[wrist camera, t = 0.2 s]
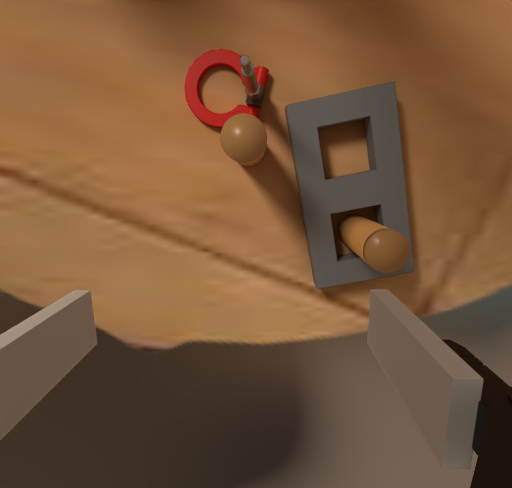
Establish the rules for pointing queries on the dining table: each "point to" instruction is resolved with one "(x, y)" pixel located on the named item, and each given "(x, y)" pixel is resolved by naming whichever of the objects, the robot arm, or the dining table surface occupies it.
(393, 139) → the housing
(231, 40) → the dining table surface
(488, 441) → the robot arm
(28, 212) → the dining table surface
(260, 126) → the peg
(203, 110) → the tow hook
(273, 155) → the dining table surface
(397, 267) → the cylinder
